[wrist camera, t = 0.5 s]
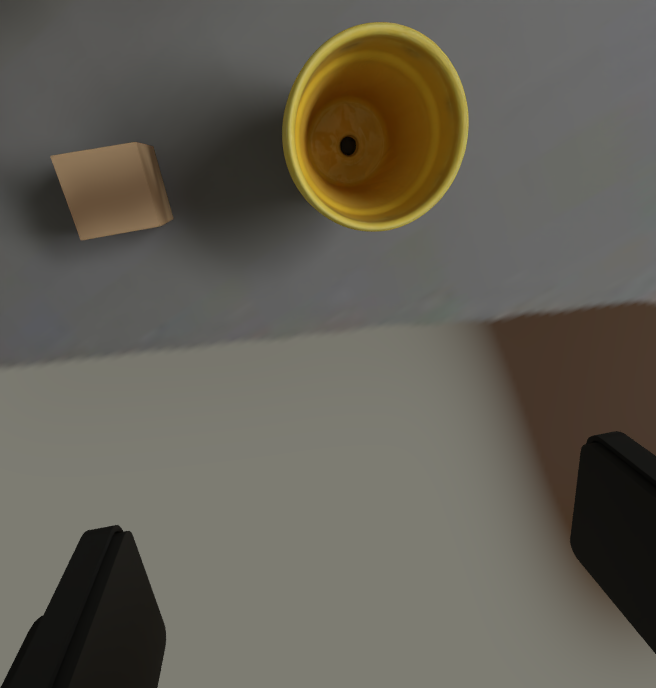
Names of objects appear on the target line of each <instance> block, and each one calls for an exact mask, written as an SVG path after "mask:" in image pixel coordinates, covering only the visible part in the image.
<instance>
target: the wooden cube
mask: <svg viewBox="0 0 656 688" xmlns="http://www.w3.org/2000/svg"><path fill="white" fill-rule="evenodd" d="M50 157H51V159H52V162H53V165H54V168H55V170H56V173H57V176H58V179H59V181H60V184H61V187H62V190H63V192H64V195H65V198H66V201H67V204H68V206H69V209H70V212H71V215H72V217H73V220H74V223H75V226H76V228H77V231H78V234H79V237H80V239H81V240H86V239H92V238H97V237H103V236H109V235H114V234H120V233H125V232H131V231H137V230H142V229H148V228H153V227H159V226H162V225H164V224H165V223H167V222H169V221H171V220H173V219H174V218H173V215H172V211H171V208H170V204H169V201H168V197H167V194H166V190H165V186H164V183H163V179H162V176H161V172H160V169H159V165H158V161H157V158H156V154H155V151H154V147H153V146H150V145H146V144H142V143H138V142H132V143H126V144H120V145H114V146H108V147H102V148H96V149H89V150H83V151H77V152H71V153H65V154H59V155H53V156H50Z"/></svg>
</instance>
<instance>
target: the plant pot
mask: <svg viewBox="0 0 656 688" xmlns="http://www.w3.org/2000/svg"><path fill="white" fill-rule="evenodd" d="M345 137H352V138H353V139H354V140H355V141H356V150H355V152H354V153H353V154H352V155H349V156H347V155H344V154H343V153H342V151H341V149H340V143H341V141H342V139H343V138H345ZM467 137H468V108H467V102H466V97H465V93H464V90H463V86H462V84H461V81H460V78H459V76H458V74H457V72H456V70H455V68H454V67H453V65H452V63H451V62H450V60H449V59H448V57H447V56H446V55H445V53H444V52H443V51H442V50H441V49H440V48H439V47H438V46H437V45H436V44H435V43H434V42H433V41H432V40H430V39H429V38H428V37H426V36H425V35H423V34H421V33H420V32H418V31H416V30H414V29H412V28H409V27H406V26H403V25H399V24H395V23H388V22H374V23H366V24H361V25H357V26H354V27H351V28H348V29H346V30H344V31H342V32H340V33H338V34H337V35H335V36H333V37H332V38H330V39H329V40H327V41H326V42H325V43H324V44H323V45H321V46H320V47H319V48H318V49H317V50H316V51H315V52H314V54H313V55H312V56H311V57H310V58H309V59H308V61H307V62H306V63H305V65H304V66H303V68H302V69H301V71H300V73H299V74H298V76H297V78H296V80H295V82H294V84H293V86H292V88H291V91H290V93H289V96H288V100H287V103H286V107H285V111H284V117H283V125H282V143H283V151H284V156H285V160H286V164H287V167H288V170H289V173H290V175H291V177H292V179H293V181H294V183H295V185H296V187H297V188H298V190H299V191H300V193H301V194H302V196H303V197H304V198H305V199H306V200H307V202H308V203H309V204H310V205H311V206H312V207H314V208H315V209H316V210H317V211H318V212H320V213H321V214H322V215H324V216H325V217H327V218H328V219H330V220H332V221H334V222H335V223H337V224H340V225H342V226H345V227H347V228H351V229H354V230H360V231H371V232H372V231H385V230H391V229H395V228H398V227H401V226H404V225H406V224H408V223H410V222H412V221H414V220H416V219H417V218H419V217H420V216H422V215H423V214H425V213H426V212H427V211H429V210H430V209H431V208H432V207H433V206H434V205H435V204H436V203H437V202H438V201H439V200H440V199H441V198H442V196H443V195H444V194H445V192H446V191H447V190H448V188H449V187H450V185H451V184H452V182H453V180H454V178H455V176H456V174H457V172H458V170H459V168H460V165H461V162H462V159H463V156H464V153H465V149H466V143H467Z"/></svg>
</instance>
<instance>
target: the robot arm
mask: <svg viewBox="0 0 656 688" xmlns="http://www.w3.org/2000/svg"><path fill="white" fill-rule="evenodd" d="M570 543H571V547H572V550H573V552H574V554H575V556H576V557H577V559H578V560H579V561H580V563H581V564H582V565H583V566H584V567H585V569H586V570H587V571H588V572H589V573H590V575H591V576H592V577H593V578H594V580H595V581H596V582H597V583H598V584H599V586H600V587H601V588H602V589H603V590H604V592H605V593H606V594H607V595H608V597H609V598H610V599H611V600H612V601H613V603H614V604H615V605H616V606H617V608H618V609H619V610H620V611H621V612H622V613H623V615H624V616H625V617H626V618H627V620H628V621H629V622H630V623H631V624H632V626H633V627H634V628H635V629H636V631H637V632H638V633H639V634H640V635H641V637H642V638H643V639H644V640H645V641H646V643H647V644H648V645H649V646H650V647H651V649H652V650H653V651H654V652H655V654H656V456H655V455H653V454H652V453H651V452H649V451H648V450H647V449H645V448H644V447H642V446H641V445H640V444H638V443H637V442H635V441H634V440H633V439H631V438H630V437H628V436H627V435H626V434H624V433H622V432H617V431H616V432H610V433H605V434H600V435H594V436H591V437H589V438H588V440H587V443H586V444H585V445H583V446H582V449H581V453H580V462H579V470H578V479H577V488H576V496H575V504H574V512H573V521H572V529H571V537H570ZM165 645H166V630H165V625H164V622H163V619H162V616H161V614H160V611H159V608H158V605H157V602H156V599H155V597H154V594H153V591H152V588H151V585H150V583H149V580H148V577H147V574H146V571H145V569H144V566H143V563H142V560H141V557H140V554H139V552H138V549H137V546H136V543H135V540H134V537H133V535H132V533H131V532H130V531H125V532H123V530H122V528H121V527H120V526H118V525H115V526H109V527H104V528H98V529H94V530H88V531H86V532H85V533H84V534H83V535H82V537H81V539H80V541H79V543H78V545H77V547H76V549H75V552H74V553H73V555H72V557H71V559H70V561H69V564H68V566H67V568H66V570H65V572H64V574H63V576H62V578H61V580H60V582H59V584H58V587H57V588H56V590H55V593H54V595H53V597H52V599H51V601H50V603H49V605H48V607H47V609H46V611H45V613H44V615H43V616H41V617H40V618H38V619H37V620H36V621H35V622H34V624H33V625H32V627H31V629H30V630H29V632H28V634H27V636H26V638H25V640H24V642H23V644H22V646H21V648H20V650H19V652H18V654H17V656H16V658H15V660H14V662H13V664H12V666H11V668H10V670H9V672H8V674H7V676H6V678H5V680H4V682H3V684H2V686H1V688H157V687H158V681H159V676H160V671H161V666H162V661H163V656H164V651H165Z"/></svg>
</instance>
